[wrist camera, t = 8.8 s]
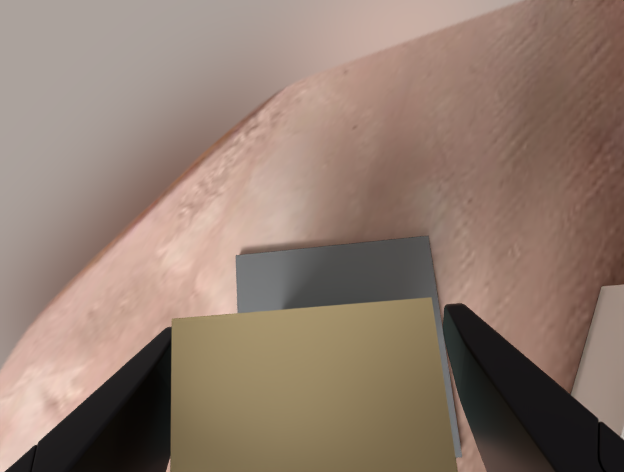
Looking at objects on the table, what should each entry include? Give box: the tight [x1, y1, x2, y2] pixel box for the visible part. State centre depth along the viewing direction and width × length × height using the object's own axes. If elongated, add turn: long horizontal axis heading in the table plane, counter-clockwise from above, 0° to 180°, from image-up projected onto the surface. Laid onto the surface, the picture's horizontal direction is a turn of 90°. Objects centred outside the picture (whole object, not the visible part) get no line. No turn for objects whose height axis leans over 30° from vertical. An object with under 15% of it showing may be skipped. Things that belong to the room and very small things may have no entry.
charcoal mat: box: [236, 236, 462, 457], centre depth 17 cm, size 10×10×1 cm
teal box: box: [170, 297, 458, 472], centre depth 12 cm, size 4×6×10 cm, turn 94°
